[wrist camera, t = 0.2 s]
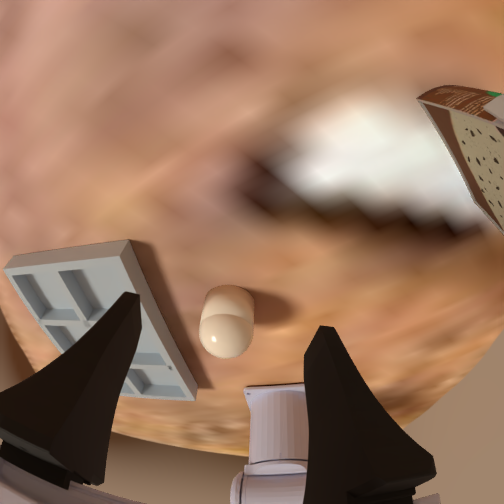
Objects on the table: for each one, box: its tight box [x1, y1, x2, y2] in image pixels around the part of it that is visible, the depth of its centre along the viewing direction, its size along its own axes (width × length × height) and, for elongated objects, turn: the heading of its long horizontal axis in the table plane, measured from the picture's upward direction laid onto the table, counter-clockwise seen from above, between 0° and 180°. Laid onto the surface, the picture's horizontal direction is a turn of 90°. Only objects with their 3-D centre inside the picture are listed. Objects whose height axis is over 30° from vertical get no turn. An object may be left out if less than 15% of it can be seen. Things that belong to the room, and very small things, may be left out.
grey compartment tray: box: [3, 240, 198, 401], centre depth 27 cm, size 20×14×2 cm
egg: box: [199, 285, 254, 359], centre depth 23 cm, size 4×4×5 cm
